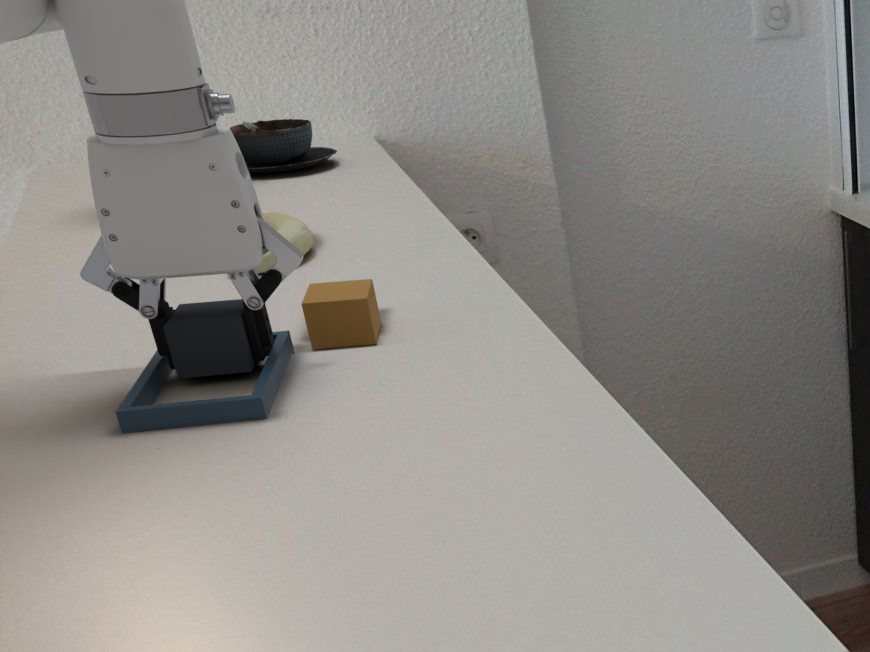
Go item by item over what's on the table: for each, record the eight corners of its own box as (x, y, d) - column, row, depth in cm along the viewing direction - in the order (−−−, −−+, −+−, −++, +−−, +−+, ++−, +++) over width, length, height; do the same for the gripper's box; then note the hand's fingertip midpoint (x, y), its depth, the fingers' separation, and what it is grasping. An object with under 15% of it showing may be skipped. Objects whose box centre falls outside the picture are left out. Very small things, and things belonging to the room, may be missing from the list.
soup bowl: (363, 159, 176) (351, 103, 172) (283, 184, 162) (269, 123, 158) (269, 154, 178) (255, 98, 175) (182, 177, 165) (166, 117, 161)
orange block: (376, 344, 108) (367, 298, 106) (312, 350, 106) (301, 303, 105) (381, 323, 113) (372, 278, 111) (319, 328, 111) (309, 283, 110)
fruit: (324, 235, 139) (317, 205, 138) (307, 272, 127) (299, 238, 125) (251, 240, 137) (243, 209, 136) (227, 278, 125) (218, 244, 123)
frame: (270, 430, 91) (261, 397, 90) (125, 445, 89) (114, 411, 87) (296, 359, 104) (289, 330, 103) (171, 371, 102) (162, 341, 101)
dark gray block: (251, 371, 97) (238, 321, 95) (177, 378, 95) (162, 327, 94) (263, 347, 102) (250, 298, 100) (193, 353, 100) (178, 303, 99)
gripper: (291, 100, 96) (345, 333, 104) (29, 111, 91) (107, 355, 99) (278, 116, 89) (336, 364, 98) (-5, 129, 85) (82, 388, 93)
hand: (220, 357), depth 98 cm, fingers closed on dark gray block, 5 cm apart
